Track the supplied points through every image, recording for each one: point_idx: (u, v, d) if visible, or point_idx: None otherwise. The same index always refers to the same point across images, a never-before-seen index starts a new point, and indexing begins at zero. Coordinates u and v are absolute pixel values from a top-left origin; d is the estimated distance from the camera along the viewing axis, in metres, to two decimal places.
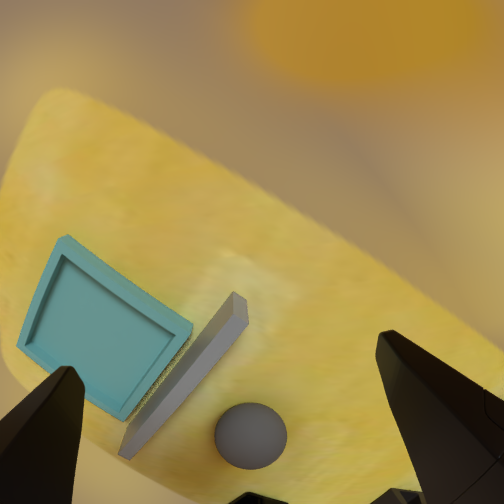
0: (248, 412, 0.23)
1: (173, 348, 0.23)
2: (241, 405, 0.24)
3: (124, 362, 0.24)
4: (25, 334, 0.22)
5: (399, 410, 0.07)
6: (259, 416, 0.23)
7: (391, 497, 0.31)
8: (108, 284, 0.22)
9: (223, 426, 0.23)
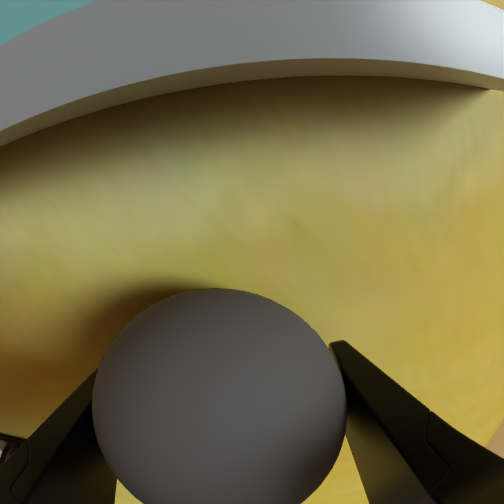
0: (315, 346, 0.06)
1: None
2: (278, 304, 0.07)
3: None
4: None
5: (347, 424, 0.07)
6: (339, 381, 0.06)
7: None
8: None
9: (201, 341, 0.05)
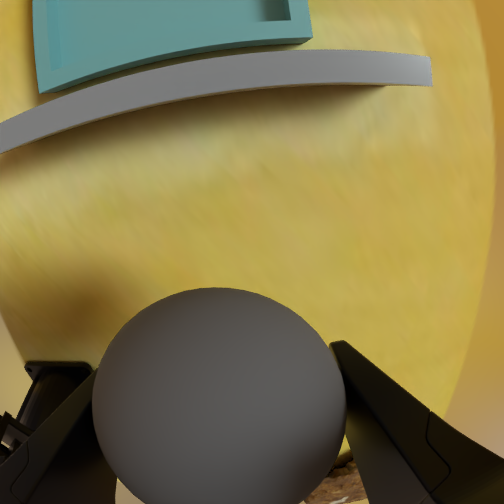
0: (315, 345, 0.06)
1: (266, 30, 0.11)
2: (278, 303, 0.07)
3: (151, 6, 0.11)
4: None
5: (347, 424, 0.07)
6: (338, 380, 0.06)
7: None
8: None
9: (201, 340, 0.05)
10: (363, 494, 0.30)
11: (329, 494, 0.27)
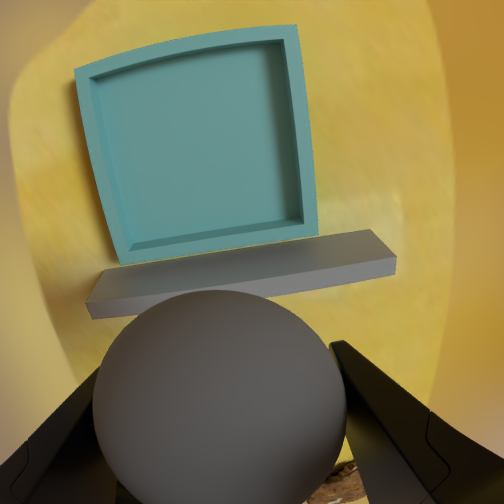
0: (315, 347, 0.06)
1: (287, 233, 0.19)
2: (278, 305, 0.07)
3: (199, 200, 0.19)
4: (109, 66, 0.14)
5: (347, 424, 0.07)
6: (339, 382, 0.06)
7: None
8: (299, 115, 0.16)
9: (201, 343, 0.05)
10: (354, 496, 0.37)
11: (325, 496, 0.35)
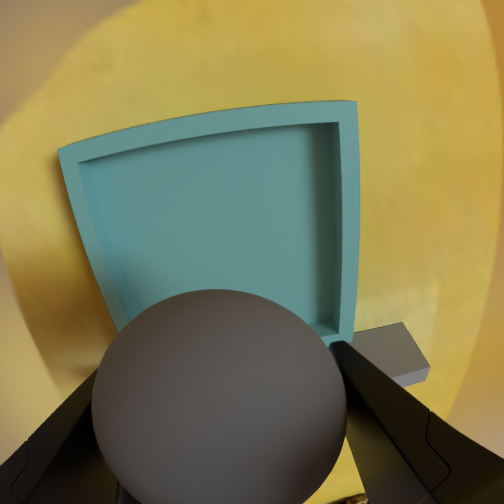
0: (316, 347, 0.06)
1: None
2: (278, 305, 0.07)
3: None
4: (103, 149, 0.11)
5: (347, 424, 0.07)
6: (339, 382, 0.06)
7: None
8: (349, 223, 0.13)
9: (201, 342, 0.05)
10: None
11: None
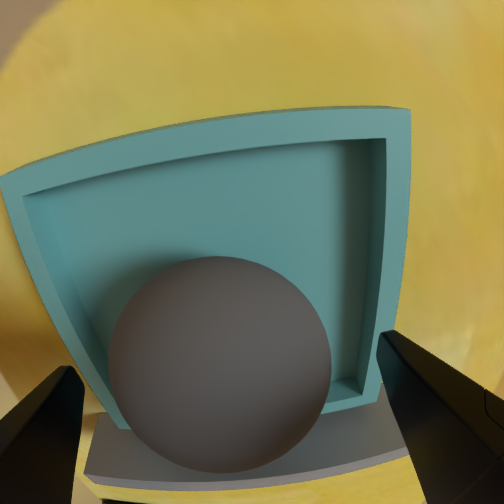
0: (301, 300, 0.08)
1: (338, 406, 0.13)
2: (270, 269, 0.09)
3: None
4: (52, 177, 0.08)
5: (400, 410, 0.07)
6: (322, 332, 0.07)
7: None
8: (389, 275, 0.10)
9: (206, 289, 0.07)
10: None
11: None
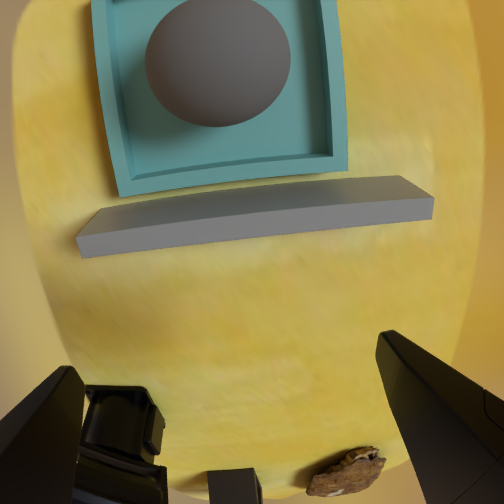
0: None
1: (313, 166, 0.16)
2: None
3: None
4: None
5: (399, 410, 0.07)
6: None
7: (248, 477, 0.33)
8: (331, 39, 0.13)
9: None
10: (356, 487, 0.35)
11: (326, 487, 0.33)
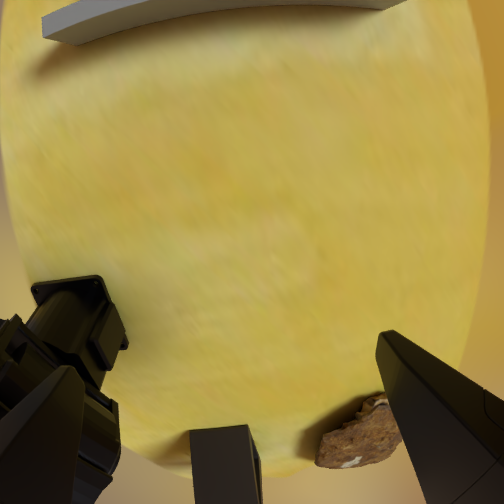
0: None
1: None
2: None
3: None
4: None
5: (399, 410, 0.07)
6: None
7: (241, 437, 0.28)
8: None
9: None
10: (377, 453, 0.30)
11: (339, 451, 0.28)
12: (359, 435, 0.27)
